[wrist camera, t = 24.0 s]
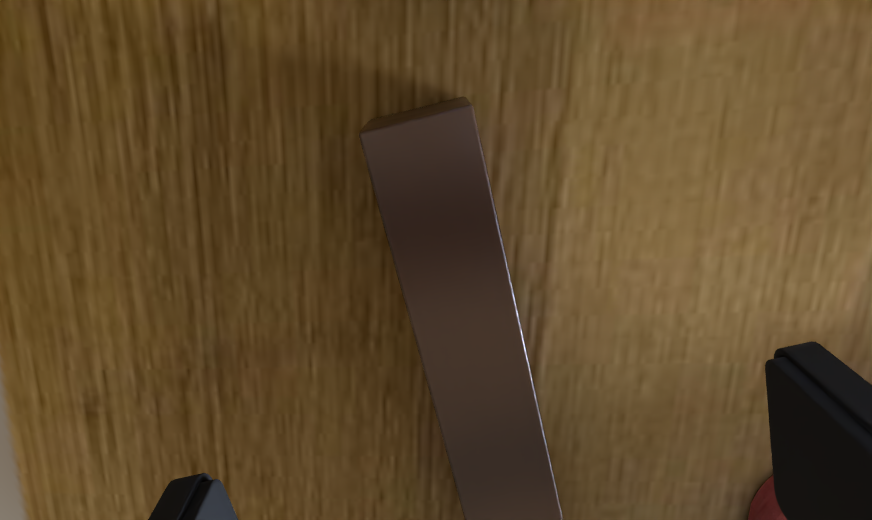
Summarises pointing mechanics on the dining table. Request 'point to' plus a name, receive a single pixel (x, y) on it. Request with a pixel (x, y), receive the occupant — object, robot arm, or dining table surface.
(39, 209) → the dining table surface
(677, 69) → the dining table surface
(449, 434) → the stick
